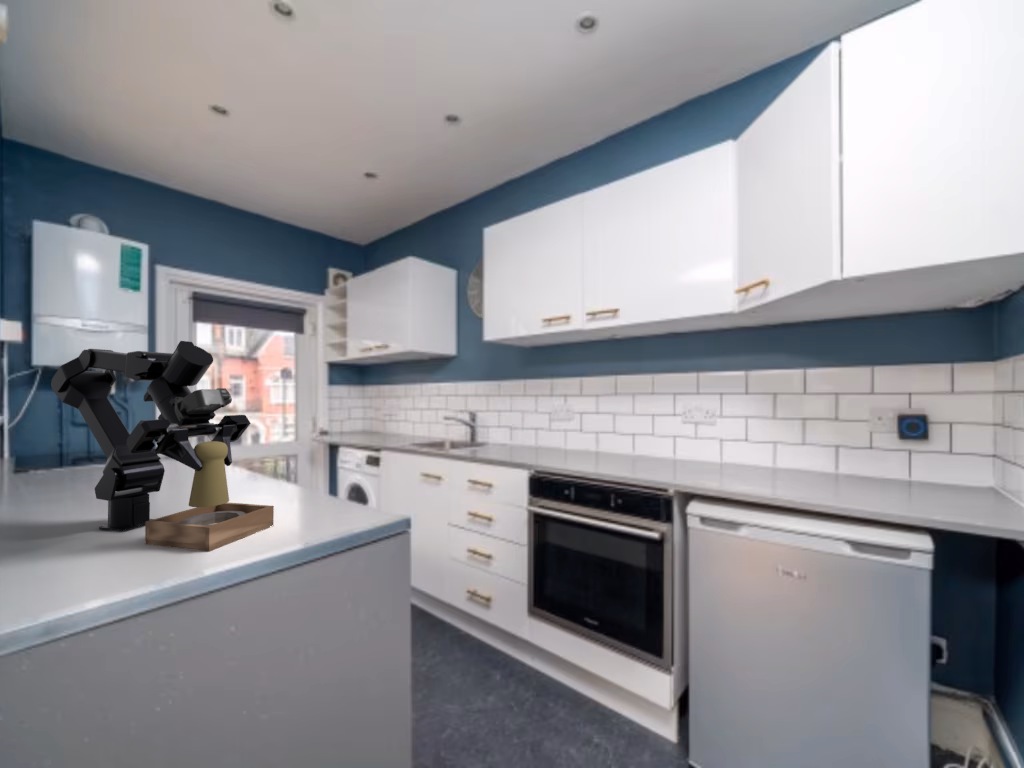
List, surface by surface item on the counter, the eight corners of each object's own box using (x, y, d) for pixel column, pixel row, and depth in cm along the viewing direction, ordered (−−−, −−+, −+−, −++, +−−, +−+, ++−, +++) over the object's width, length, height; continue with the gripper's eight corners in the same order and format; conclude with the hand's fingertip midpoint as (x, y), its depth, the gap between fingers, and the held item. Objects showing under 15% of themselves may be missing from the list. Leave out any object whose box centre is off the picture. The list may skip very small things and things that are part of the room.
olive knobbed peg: (217, 507, 74) (218, 444, 75) (180, 507, 74) (182, 443, 74) (236, 498, 80) (237, 439, 81) (202, 498, 80) (203, 439, 80)
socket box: (145, 544, 75) (145, 521, 75) (216, 520, 89) (217, 501, 89) (209, 551, 72) (209, 527, 72) (273, 525, 86) (273, 505, 86)
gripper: (139, 371, 70) (182, 443, 66) (245, 375, 87) (284, 432, 84) (108, 417, 73) (147, 488, 69) (217, 411, 90) (253, 468, 86)
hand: (215, 466), depth 77 cm, fingers closed on olive knobbed peg, 5 cm apart
